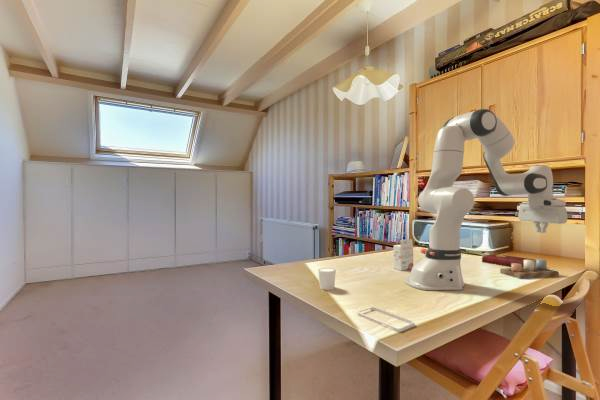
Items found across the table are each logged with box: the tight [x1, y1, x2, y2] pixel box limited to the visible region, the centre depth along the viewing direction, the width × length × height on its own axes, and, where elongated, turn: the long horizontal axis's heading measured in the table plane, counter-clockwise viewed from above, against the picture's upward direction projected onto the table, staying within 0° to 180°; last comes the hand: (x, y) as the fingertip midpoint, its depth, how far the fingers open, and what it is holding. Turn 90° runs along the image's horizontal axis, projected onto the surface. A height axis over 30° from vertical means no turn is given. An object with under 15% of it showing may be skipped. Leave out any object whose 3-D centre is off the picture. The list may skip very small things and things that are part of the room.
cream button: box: [524, 260, 534, 271], centre depth 135 cm, size 4×4×4 cm
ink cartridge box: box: [393, 238, 414, 271], centre depth 148 cm, size 9×5×15 cm, turn 118°
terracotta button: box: [510, 263, 522, 272], centre depth 133 cm, size 4×4×4 cm
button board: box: [499, 267, 560, 280], centre depth 135 cm, size 20×10×2 cm, turn 100°
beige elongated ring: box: [356, 306, 415, 333], centre depth 86 cm, size 7×1×15 cm
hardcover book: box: [481, 253, 537, 268], centre depth 155 cm, size 12×21×4 cm, turn 30°
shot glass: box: [317, 267, 337, 291], centre depth 117 cm, size 7×7×7 cm
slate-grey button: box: [536, 258, 548, 271], centre depth 136 cm, size 4×4×4 cm
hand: (541, 232), depth 136 cm, fingers closed
